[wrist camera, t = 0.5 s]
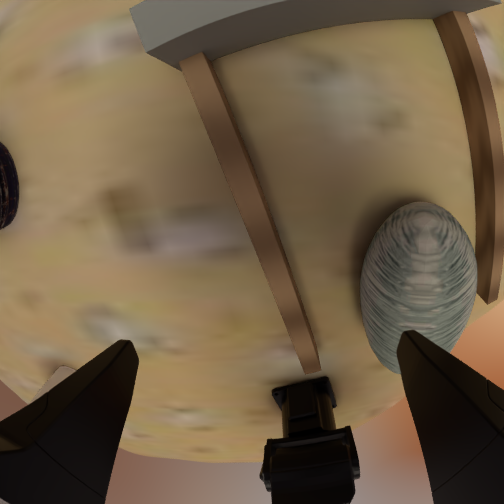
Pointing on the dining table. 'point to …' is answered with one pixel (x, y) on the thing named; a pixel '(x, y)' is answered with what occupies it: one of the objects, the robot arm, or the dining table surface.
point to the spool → (417, 280)
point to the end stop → (264, 21)
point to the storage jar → (7, 188)
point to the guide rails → (258, 214)
